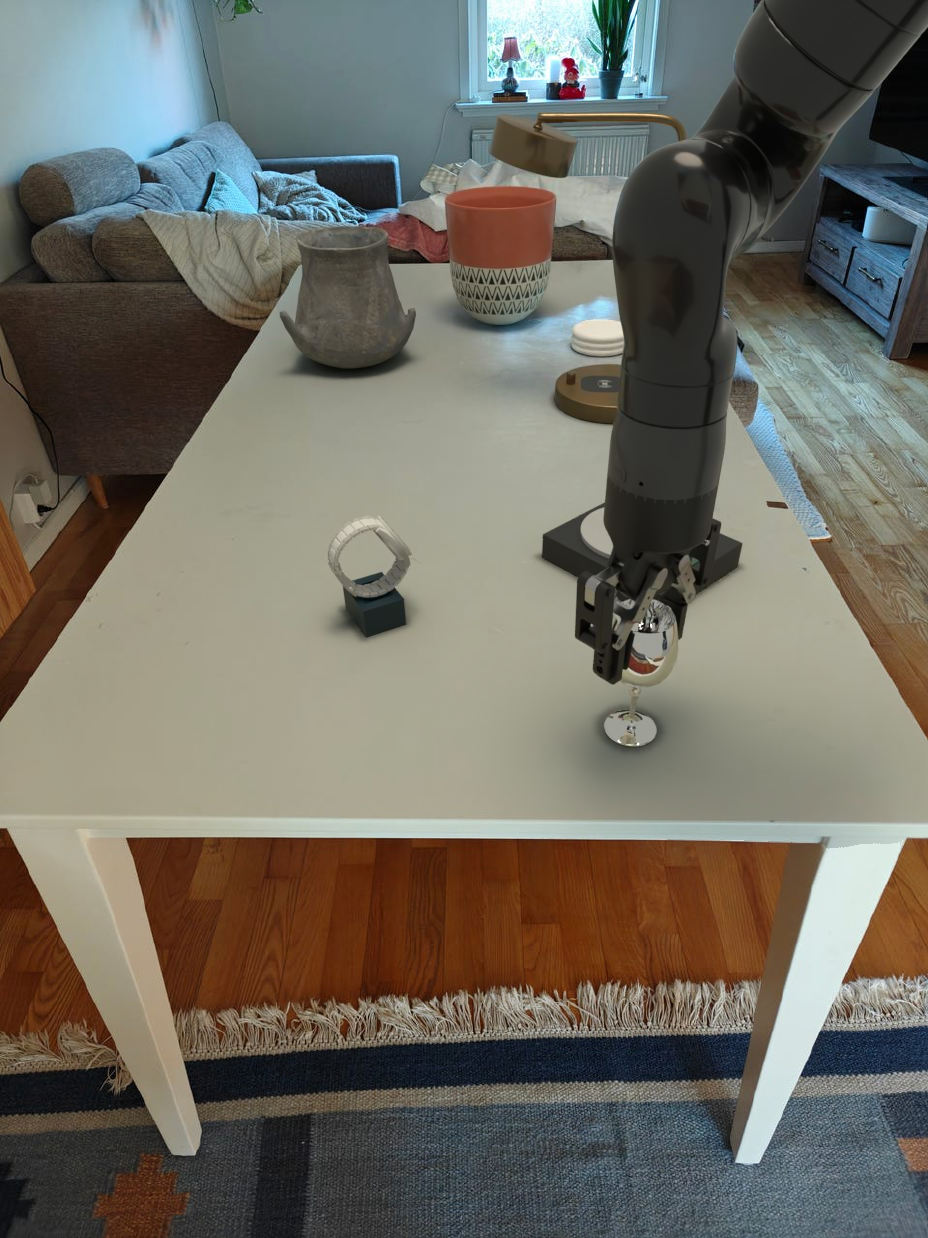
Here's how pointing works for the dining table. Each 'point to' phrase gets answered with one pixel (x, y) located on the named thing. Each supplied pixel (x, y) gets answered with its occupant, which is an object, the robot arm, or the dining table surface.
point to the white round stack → (598, 337)
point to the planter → (500, 249)
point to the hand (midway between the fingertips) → (638, 656)
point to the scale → (591, 547)
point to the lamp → (551, 155)
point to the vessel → (348, 299)
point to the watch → (372, 578)
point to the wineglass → (644, 670)
